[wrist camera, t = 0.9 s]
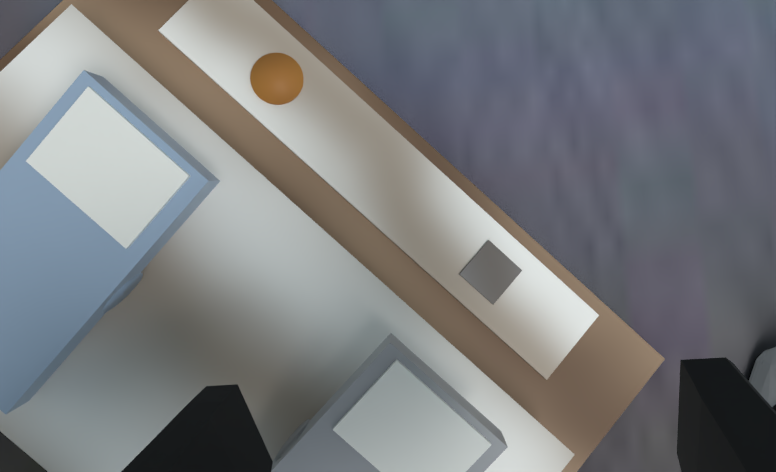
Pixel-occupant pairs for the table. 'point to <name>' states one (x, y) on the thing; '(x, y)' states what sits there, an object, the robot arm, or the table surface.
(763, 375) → the electrical switch
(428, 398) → the grey flat block
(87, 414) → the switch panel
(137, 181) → the blue rectangular block
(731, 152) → the table surface
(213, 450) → the robot arm
